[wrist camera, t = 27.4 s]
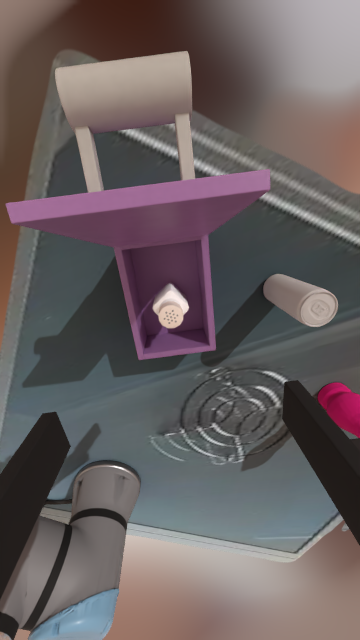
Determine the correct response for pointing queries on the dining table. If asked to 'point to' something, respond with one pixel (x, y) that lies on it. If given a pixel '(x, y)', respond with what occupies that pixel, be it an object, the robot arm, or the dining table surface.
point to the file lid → (141, 201)
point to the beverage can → (301, 300)
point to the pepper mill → (341, 406)
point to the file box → (151, 277)
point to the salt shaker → (170, 306)
